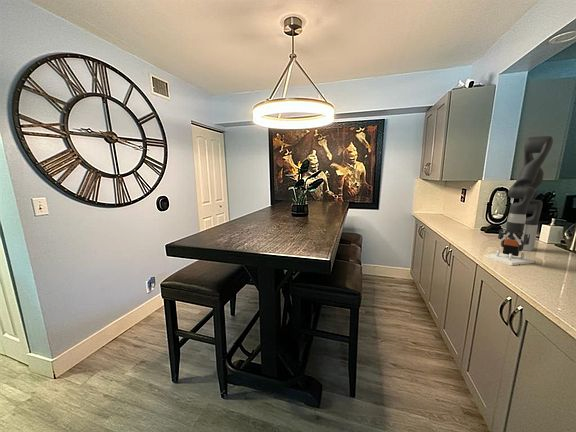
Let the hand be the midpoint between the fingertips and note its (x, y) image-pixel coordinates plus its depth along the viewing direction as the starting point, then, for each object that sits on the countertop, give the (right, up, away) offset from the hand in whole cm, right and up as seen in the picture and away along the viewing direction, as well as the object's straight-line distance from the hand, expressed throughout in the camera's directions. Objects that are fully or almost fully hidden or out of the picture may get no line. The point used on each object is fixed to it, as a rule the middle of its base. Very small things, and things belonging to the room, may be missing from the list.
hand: (511, 248), depth 140 cm
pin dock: (0, -7, +1) cm, 7 cm away
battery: (0, -3, +1) cm, 4 cm away
